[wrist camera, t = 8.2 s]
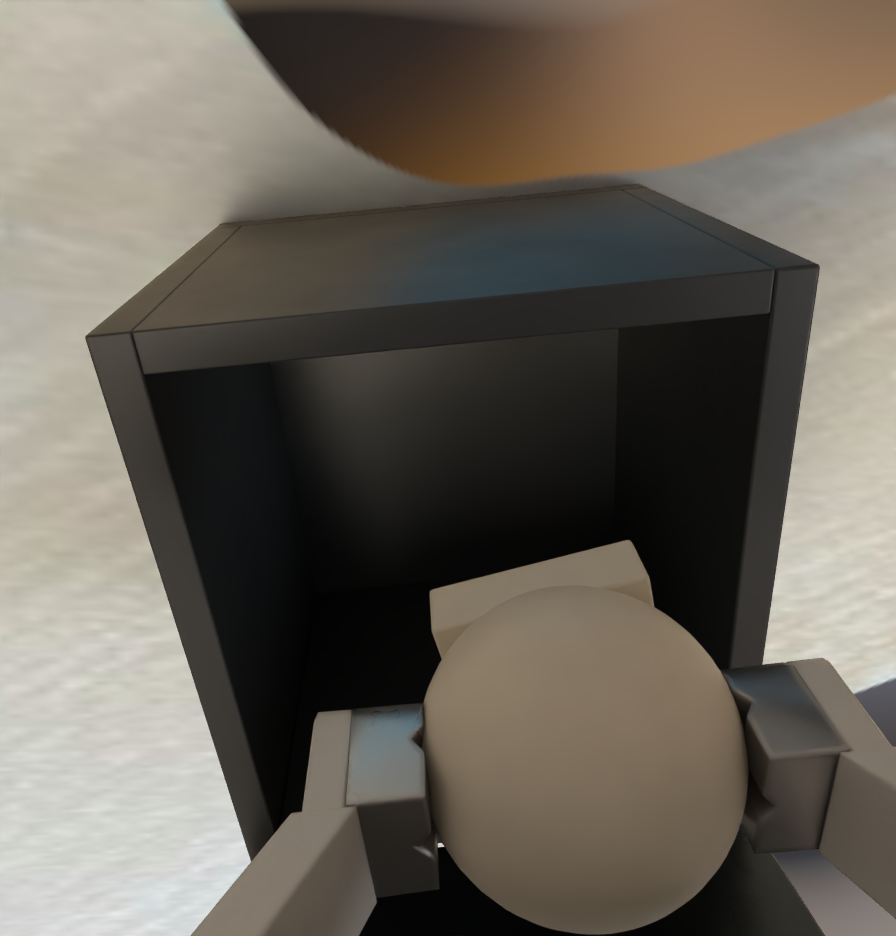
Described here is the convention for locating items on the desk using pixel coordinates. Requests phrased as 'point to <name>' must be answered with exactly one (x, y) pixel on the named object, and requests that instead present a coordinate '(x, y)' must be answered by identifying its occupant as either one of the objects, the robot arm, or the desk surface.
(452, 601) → the beige rounded piece
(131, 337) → the waste bin
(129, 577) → the desk surface
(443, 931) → the bin lid
